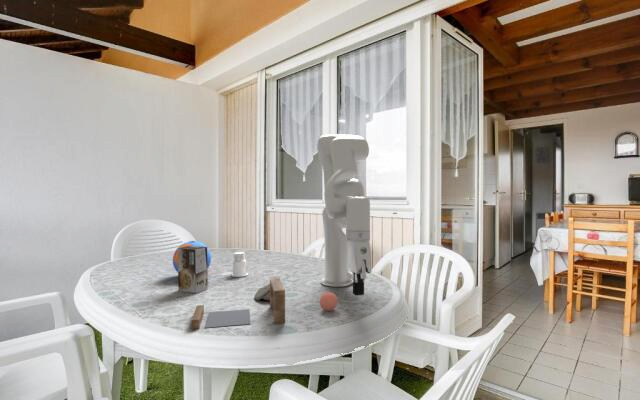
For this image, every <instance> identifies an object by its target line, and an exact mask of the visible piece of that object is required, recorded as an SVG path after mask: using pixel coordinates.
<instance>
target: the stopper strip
mask: <svg viewBox="0 0 640 400" xmlns="http://www.w3.org/2000/svg"><path fill="white" fill-rule="evenodd" d="M204 314H205V304H202V305H201V304H200V305H196V306H195V309H194V312H193V315H192V318H191V320H190V321H191V325H190V326H191V330H198V329H200V327H201V324H202V320H203V318H204Z"/></svg>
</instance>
